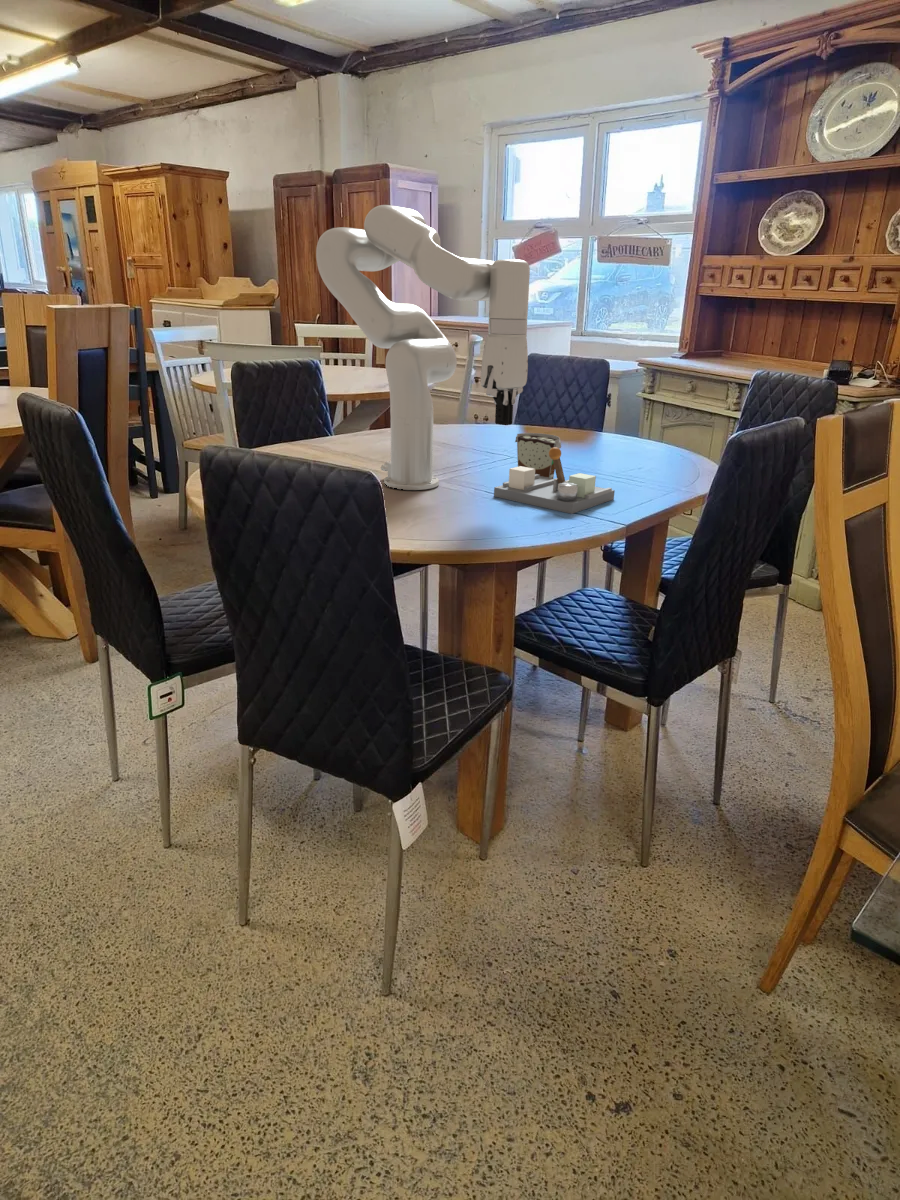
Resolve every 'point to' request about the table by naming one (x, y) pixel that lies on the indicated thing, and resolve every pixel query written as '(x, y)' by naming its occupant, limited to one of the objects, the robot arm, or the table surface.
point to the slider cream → (521, 477)
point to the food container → (537, 452)
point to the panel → (552, 495)
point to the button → (567, 492)
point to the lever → (557, 463)
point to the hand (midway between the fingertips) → (503, 424)
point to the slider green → (583, 483)
